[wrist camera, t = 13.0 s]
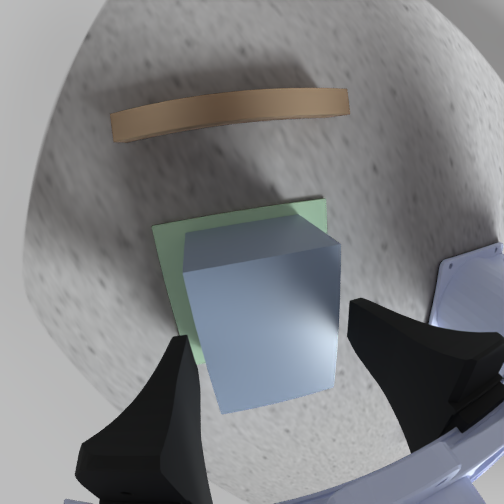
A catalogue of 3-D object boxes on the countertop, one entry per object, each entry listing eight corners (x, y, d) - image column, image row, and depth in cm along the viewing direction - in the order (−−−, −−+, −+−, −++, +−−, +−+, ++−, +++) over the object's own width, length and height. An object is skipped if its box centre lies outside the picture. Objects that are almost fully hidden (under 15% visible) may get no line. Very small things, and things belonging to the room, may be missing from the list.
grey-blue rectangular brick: (297, 213, 15) (340, 243, 11) (303, 333, 18) (333, 387, 14) (185, 231, 15) (182, 272, 10) (212, 352, 17) (221, 414, 13)
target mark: (324, 198, 15) (325, 198, 15) (325, 334, 19) (326, 336, 18) (152, 225, 14) (151, 226, 14) (189, 363, 17) (189, 365, 17)
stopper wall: (324, 95, 13) (346, 88, 11) (326, 117, 14) (350, 114, 11) (124, 119, 12) (110, 113, 10) (127, 142, 12) (113, 142, 10)
